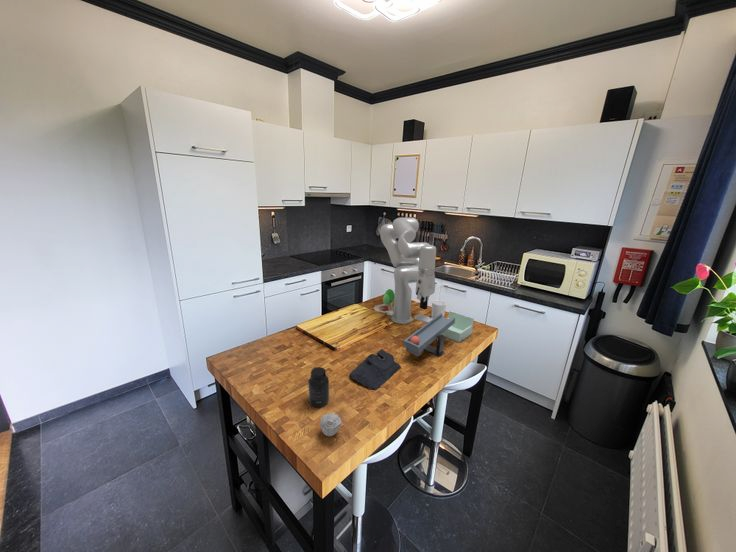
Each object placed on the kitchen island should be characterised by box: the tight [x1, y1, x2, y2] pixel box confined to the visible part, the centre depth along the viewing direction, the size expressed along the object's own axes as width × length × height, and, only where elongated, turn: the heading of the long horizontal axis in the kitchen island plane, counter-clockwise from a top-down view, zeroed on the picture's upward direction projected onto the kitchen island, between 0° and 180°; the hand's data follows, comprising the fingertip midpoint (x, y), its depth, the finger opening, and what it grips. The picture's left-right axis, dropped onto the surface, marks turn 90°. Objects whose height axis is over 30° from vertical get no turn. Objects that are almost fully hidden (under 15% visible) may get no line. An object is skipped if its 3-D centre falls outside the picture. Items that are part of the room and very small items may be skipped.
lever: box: [403, 313, 455, 357], centre depth 134 cm, size 16×30×5 cm, turn 136°
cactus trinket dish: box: [373, 288, 395, 314], centre depth 178 cm, size 15×14×14 cm
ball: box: [410, 336, 420, 345], centre depth 122 cm, size 4×4×4 cm
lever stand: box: [417, 326, 445, 358], centre depth 132 cm, size 13×5×9 cm, turn 46°
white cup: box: [431, 299, 447, 318], centre depth 166 cm, size 8×8×10 cm
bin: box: [441, 310, 475, 344], centre depth 148 cm, size 14×14×9 cm
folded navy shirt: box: [349, 348, 402, 391], centre depth 116 cm, size 15×22×5 cm
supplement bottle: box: [307, 366, 330, 408], centre depth 97 cm, size 7×7×12 cm
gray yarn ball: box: [319, 413, 342, 437], centre depth 85 cm, size 6×7×7 cm
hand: (423, 308), depth 139 cm, fingers closed
